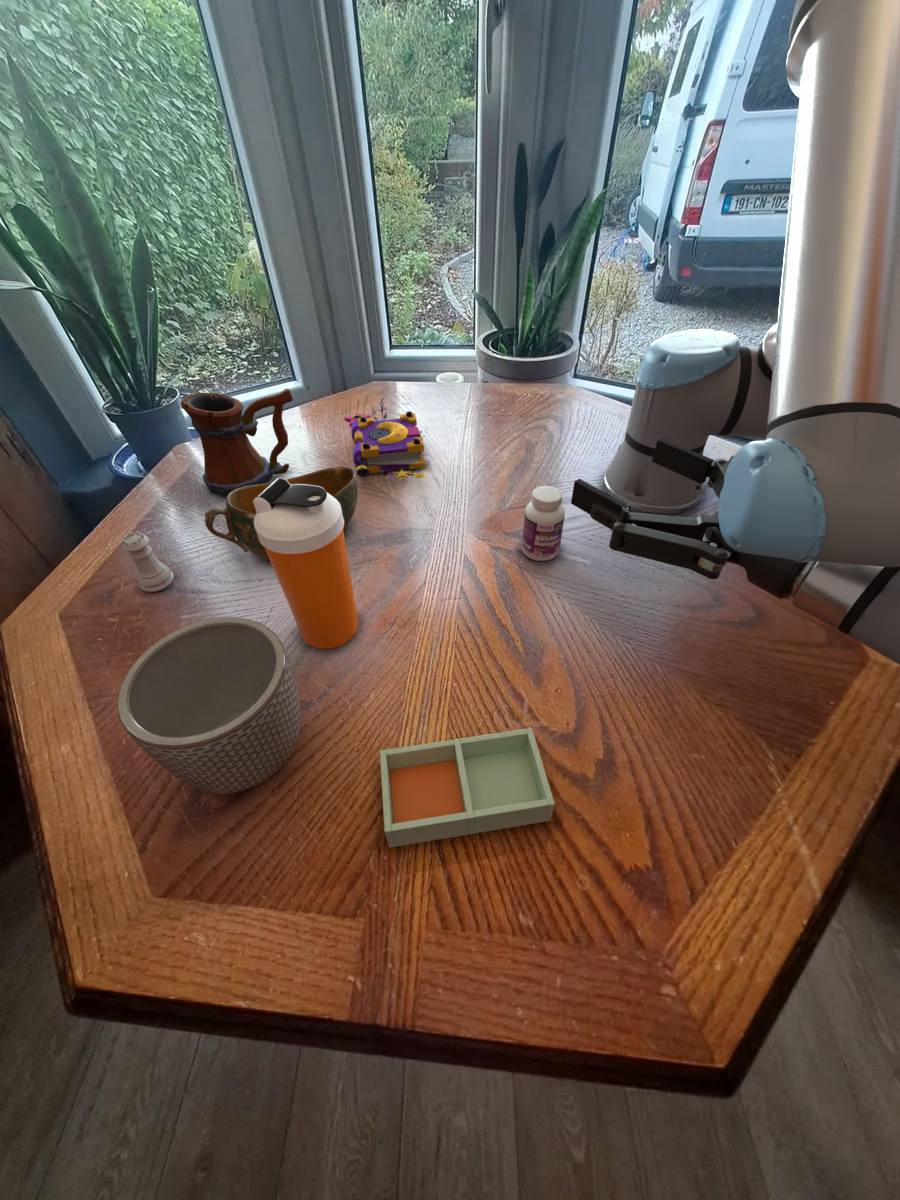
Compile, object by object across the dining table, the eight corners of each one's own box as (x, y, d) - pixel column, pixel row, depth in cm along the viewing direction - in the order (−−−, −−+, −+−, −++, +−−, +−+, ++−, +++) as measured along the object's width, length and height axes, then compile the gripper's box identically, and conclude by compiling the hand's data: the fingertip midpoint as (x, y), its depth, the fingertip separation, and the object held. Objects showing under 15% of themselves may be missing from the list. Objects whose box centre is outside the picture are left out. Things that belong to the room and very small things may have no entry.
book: (350, 494, 87) (337, 425, 79) (346, 426, 105) (335, 364, 96) (436, 483, 89) (432, 414, 80) (417, 419, 106) (413, 357, 98)
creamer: (236, 523, 82) (213, 466, 75) (363, 508, 84) (352, 451, 77) (224, 577, 73) (197, 518, 66) (367, 559, 75) (355, 499, 68)
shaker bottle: (351, 660, 62) (316, 522, 48) (282, 650, 63) (227, 513, 49) (374, 607, 68) (349, 471, 54) (310, 599, 69) (269, 465, 55)
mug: (307, 453, 98) (287, 372, 87) (314, 484, 90) (293, 399, 79) (207, 470, 94) (173, 387, 84) (205, 504, 86) (168, 418, 76)
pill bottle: (535, 567, 73) (541, 509, 66) (514, 546, 76) (518, 489, 69) (566, 554, 74) (576, 497, 67) (545, 535, 78) (552, 478, 71)
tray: (529, 745, 53) (531, 727, 50) (550, 820, 47) (555, 804, 45) (383, 768, 52) (379, 750, 49) (389, 847, 46) (384, 832, 44)
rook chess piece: (182, 577, 73) (158, 531, 68) (157, 597, 70) (130, 551, 65) (159, 569, 75) (133, 523, 69) (134, 588, 72) (105, 542, 66)
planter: (325, 794, 50) (291, 719, 41) (172, 838, 47) (100, 769, 38) (310, 682, 59) (281, 601, 50) (183, 713, 57) (128, 635, 48)
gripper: (717, 664, 42) (532, 541, 54) (858, 543, 53) (677, 463, 65) (751, 597, 37) (539, 478, 49) (901, 478, 47) (695, 404, 60)
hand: (617, 469), depth 57 cm, fingers open, 13 cm apart
